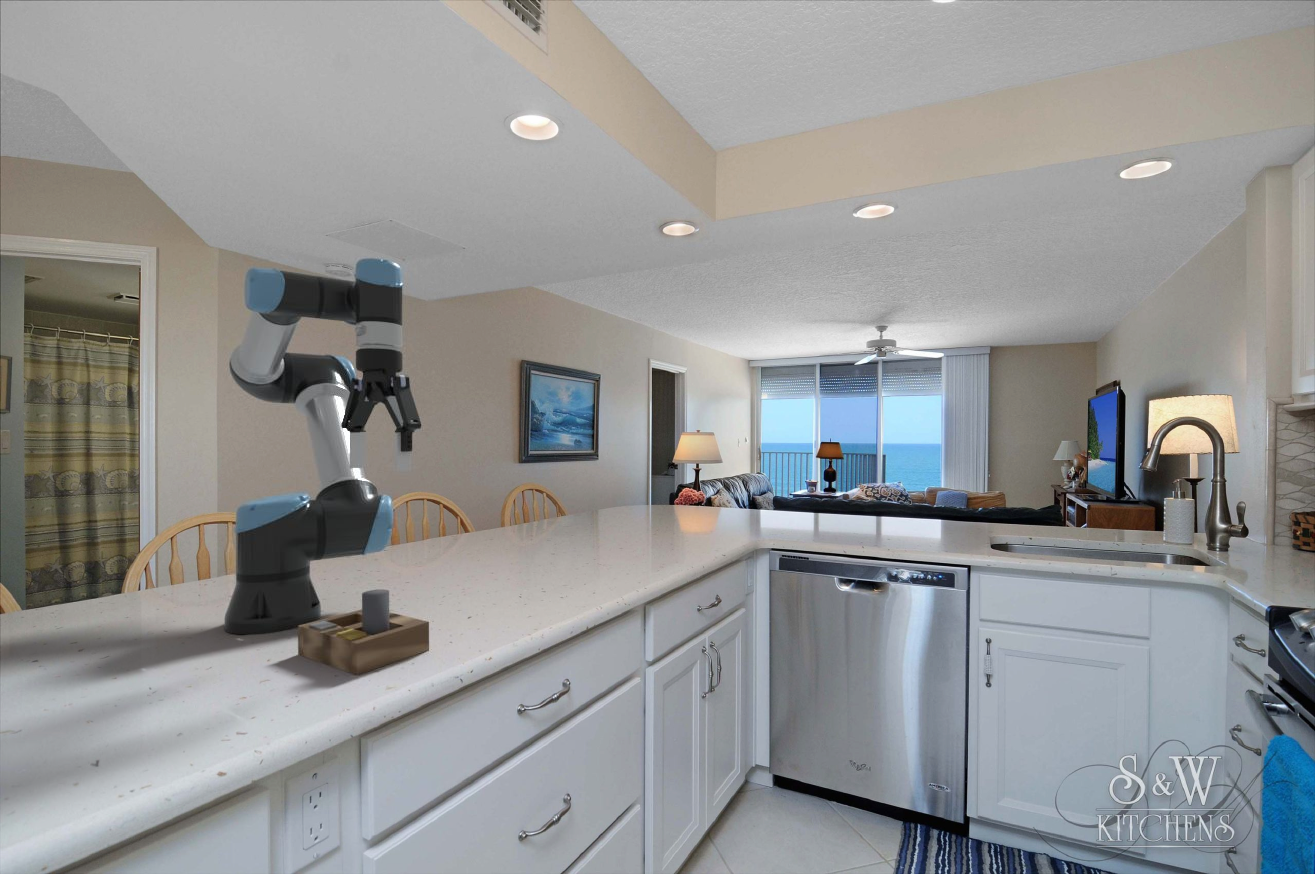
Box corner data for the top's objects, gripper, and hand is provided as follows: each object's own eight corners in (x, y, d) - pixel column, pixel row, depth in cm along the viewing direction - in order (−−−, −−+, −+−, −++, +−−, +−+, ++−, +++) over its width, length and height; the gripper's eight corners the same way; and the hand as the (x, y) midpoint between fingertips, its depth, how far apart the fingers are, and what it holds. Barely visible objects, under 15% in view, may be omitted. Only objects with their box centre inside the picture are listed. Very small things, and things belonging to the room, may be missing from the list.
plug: (380, 651, 97) (380, 588, 97) (394, 656, 95) (394, 591, 95) (357, 658, 94) (357, 593, 94) (370, 663, 92) (370, 596, 92)
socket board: (298, 654, 96) (297, 623, 96) (369, 633, 106) (369, 605, 106) (357, 675, 87) (357, 640, 87) (429, 650, 97) (428, 619, 97)
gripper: (320, 351, 112) (320, 468, 112) (403, 341, 98) (403, 473, 98) (359, 356, 118) (359, 465, 118) (442, 346, 104) (443, 471, 105)
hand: (379, 469), depth 108 cm, fingers open, 13 cm apart
